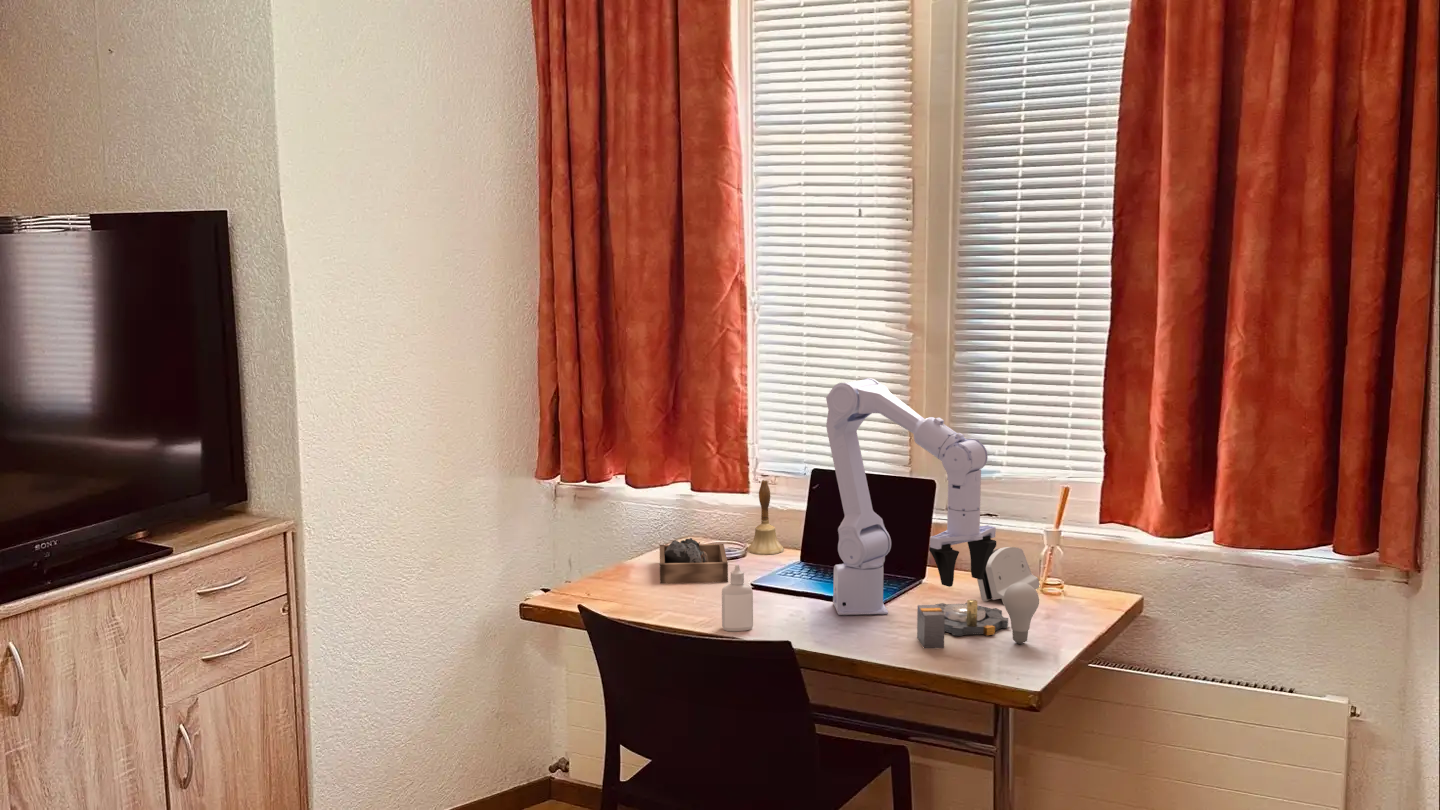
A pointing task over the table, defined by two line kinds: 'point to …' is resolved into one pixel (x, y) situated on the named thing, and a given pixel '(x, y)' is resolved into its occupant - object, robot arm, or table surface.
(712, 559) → the open wooden box
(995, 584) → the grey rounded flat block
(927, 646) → the marked link
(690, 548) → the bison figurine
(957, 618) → the hub
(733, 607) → the eye dropper bottle
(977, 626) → the sprocket
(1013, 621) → the lightbulb
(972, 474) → the robot arm
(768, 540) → the hand bell
